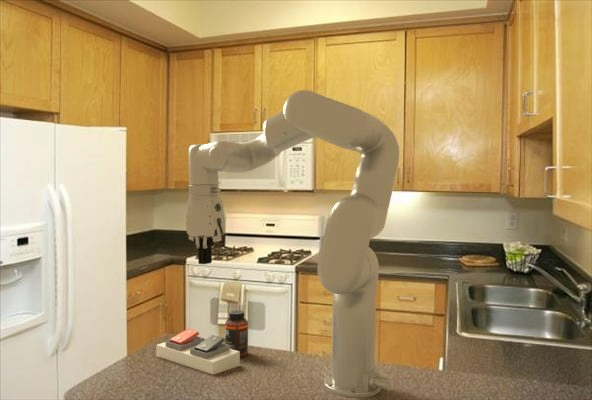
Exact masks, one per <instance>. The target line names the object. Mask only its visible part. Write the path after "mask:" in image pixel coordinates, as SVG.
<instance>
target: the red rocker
mask: <svg viewBox="0 0 592 400" xmlns="http://www.w3.org/2000/svg"><path fill="white" fill-rule="evenodd" d="M199 335H200V333H199V331H198V330H194V329H190V328H187V329H185V330H183V331H182V332H180V333H178V334H176V335H175V336H173V337H171V338H170V339H169V340H170V342H171V343H175V344H178V345H183V344H186V343H189V342H192V341H193V338H194V337H196V336H199Z"/></svg>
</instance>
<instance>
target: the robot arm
mask: <svg viewBox="0 0 592 400" xmlns="http://www.w3.org/2000/svg"><path fill="white" fill-rule="evenodd" d="M262 130H263V133H262V134H261V135H259V136H257V137H256V138H253V139H251V140H249V141H246V142H245V143H238V142H233V141H227V140H218V141H213V142H210V143H198V144H192V145H190V146H189V148H188V194H189V195H188V197H189V198H187V199H188V200H187V205H186V214H185V217H186V218H185V228H186V229H185V230H186V234H187V235H188V240H190V241H192V242H194V243H195V246H196V249H198V250H197V253H198V254H197V255H198V257H197V258H198V264H199V265H207V264H212V261H213V260H212V259H213V257H212V256H213V255H212V254H213V253H212V252H213V251H212V248H214V246H215V244H216V243H217V242H220V241H222V240H223V239H222V236H224V235H225V233H226V220H225V209H224V205H223V201H222V198H221V197H220V196H219V195H220V192H221V187H220V186H219V181H220V180H219V172H224V173H226V172H227V173H239V174H240V173H241V174H243V173H248V172H251V171H253V170H255V169H257V168H260V167H262V166H264V165H266V164H268V163H271V162H272V161H273V160H275V159H276V158H277V157H278V156H279V155H280V154H281V153H282V152H284V151H286V150H288V149H290V148H293V147H295V146H297V145H299V144H302V143H304V142H306V141H309V140H311V139H313V138H317V139H320V140H322V141H324V142H327V143H329V144H332V145H335V146H337V147H339V148H342V149H344V150H350V151H353V152H357V153H358V154H359V155H360V161H359V163H358V165H357V168H356V171H355V174H354V177H353V184H352V187H351V191H350V195H347V196H344V197H342V198H340V199H339V200H338V201H336V202H335V204H334V205H333V206H332V208H331V210H330V212H329V214H328V217H327V220H326V223H325V228H324V233H323V237H322V242H321V246H320V251H319V255H318V260H317V266H316V267H317V271H316V272H317V277H318V280H319V282H320V284H321V285H322V287H323V288H324V289H325V290H327V292H330V293H332V303H331V357H330V358H331V360H330V362H331V366H330V373H329V374H327V375H326V376H325V377H324V378H323V386H324V388H325V389H326V390H327V391H328V392H330V393H333V394H335V395H338V396H343V397H347V398H356V399H358V398H359V399H362V398H370V397H374V396H376V395H378V394H379V393H380V392H381V391H382V390H385V391H391V389H392V381H391V377H389V376H385V375H381V373H380V367H379V366H376V365H375V364H376V363H375V361H376V359H375V358H376V316H377V315H376V313H377V312H376V311H377V308H376V307H377V292H378V291H377V290H378V284H379V275H380V274H379V273H380V266H379V260H378V256H377V255H376V253H375V251H373V249H372V248H371V247H370V241H371V239H373V238H375V237H376V236H378V235H379V234H381V233H382V231H383V230H384V228H385V225H386V221H387V216H388V213H389V207H390V203H391V200H392V195H393V190H394V185H395V180H396V176H397V173H398V167H399V163H400V145H399V143H398V140H397V139H398V138H396V135H395V134H394V132H393V131H392V129H390V127H389V126H388V125H386V124H385V123H384V122H383V121H382V120H380V119H379V118H377V117H376V116H374V115H373V114H371V113H368V112H366V111H364V110H362V109H360V108H358V107H356V106H353V105H349V104H347V103H344V102H341V101H338V100H335V99H333V98H330V97H327V96H325V95H323V94H319V93H317V92H315V91H313V90H309V89H302V90H297V91H295V92H293V93H292V94H291V95H289V97H288V98H286V100H285V103H284V105H283V110H282V111H280V112H278V113H276V114H274V115H271V116H269V117H267V118H266V119H265V120H264V122H263V128H262Z"/></svg>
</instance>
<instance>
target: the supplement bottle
mask: <svg viewBox="0 0 592 400" xmlns="http://www.w3.org/2000/svg"><path fill="white" fill-rule="evenodd" d="M248 326H249V323H248V319H246V318H245V311H244V310H241V309H233V310H229V312H228V319H226V321H225V329H224V331H225V332H224V333H225V335H224V337H225V338H224V344H228V345H230V349H232V350H236V351H240V358H243V357H245V356H247V355H248V353H249V327H248Z"/></svg>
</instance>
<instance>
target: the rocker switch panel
mask: <svg viewBox="0 0 592 400" xmlns="http://www.w3.org/2000/svg"><path fill="white" fill-rule="evenodd" d="M204 340H205V338H204V337H203V336H202V337H201V336H199V335H197V336H196V337H194V338H193V341H192V342H189V343H186V344H183V345H178V344H175V343H171V342H170V339H169V340H167V341H163V342H162V343H157V344H156V348H155V349H156V350H155V352H156V354H155V355H156V358H160V359H164V360H167V361H170V362H173V363H176V364H179V365H182V366H185V367H188V368H192V369H194V370H198V371H201V372H205V373H207V374H210V375H216V374H219V373H222V372H225V371H228V370H231V369H234V368H237V367H240V365H241V362H240V361H241V360H240V359H241V357H240V351H236V350H232V349H230V345H228V344H225V342H222V343H221V344H220V345H219V349H216V350H213V351H210V352H208V353H205V352H201V351H198V350H195V347H196V346H197V345H199V344H200V343H201V342H203V341H204Z"/></svg>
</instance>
